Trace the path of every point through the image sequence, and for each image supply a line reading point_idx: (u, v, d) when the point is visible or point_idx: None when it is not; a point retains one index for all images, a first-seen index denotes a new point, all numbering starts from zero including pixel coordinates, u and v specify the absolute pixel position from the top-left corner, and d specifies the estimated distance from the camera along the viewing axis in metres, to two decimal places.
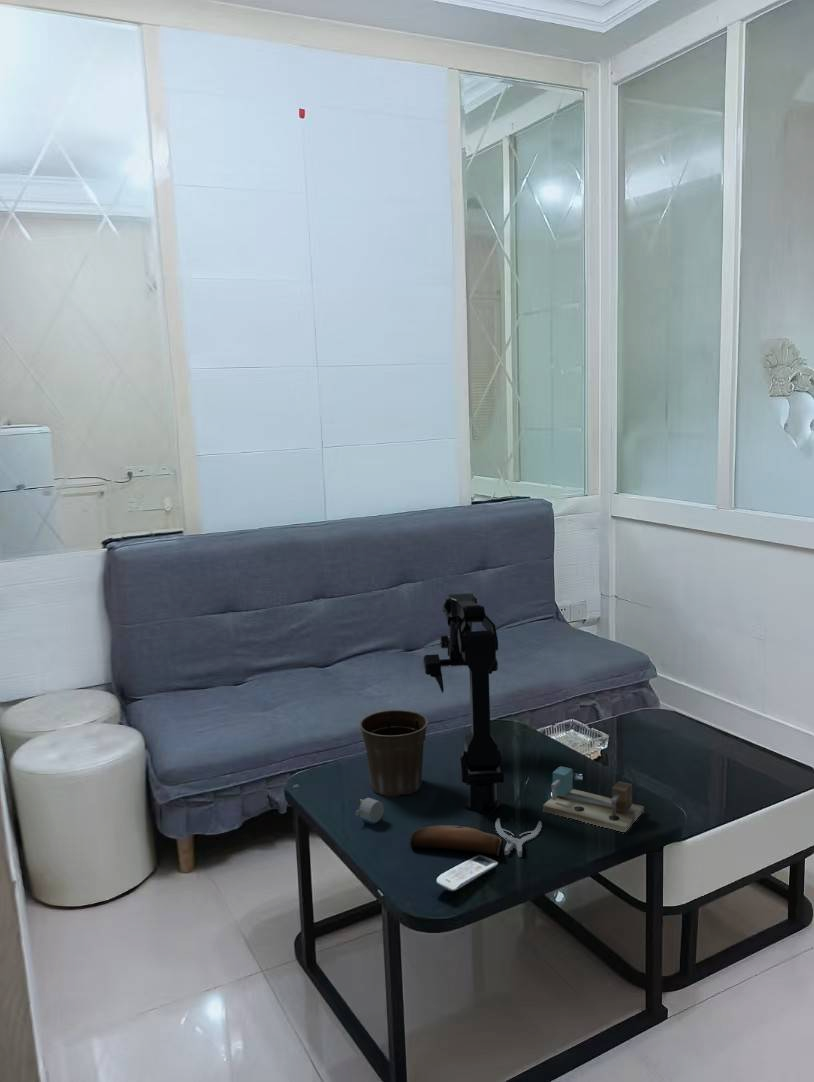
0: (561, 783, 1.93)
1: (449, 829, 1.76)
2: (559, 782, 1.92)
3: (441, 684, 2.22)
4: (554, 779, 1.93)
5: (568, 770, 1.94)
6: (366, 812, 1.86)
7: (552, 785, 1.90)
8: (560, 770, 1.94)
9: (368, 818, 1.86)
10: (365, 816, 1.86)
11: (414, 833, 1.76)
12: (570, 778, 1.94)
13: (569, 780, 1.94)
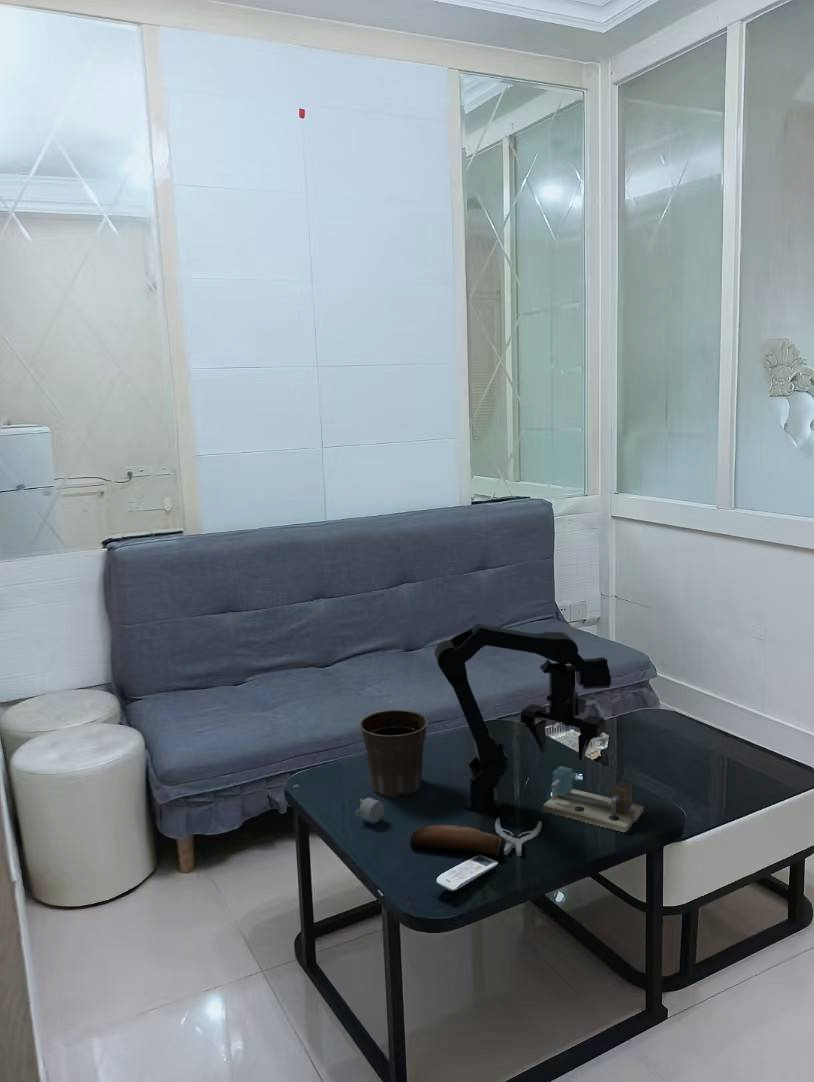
0: (561, 783, 1.93)
1: (449, 829, 1.76)
2: (559, 782, 1.92)
3: (538, 740, 1.95)
4: (554, 779, 1.93)
5: (568, 770, 1.94)
6: (366, 812, 1.86)
7: (552, 785, 1.90)
8: (560, 770, 1.94)
9: (368, 818, 1.86)
10: (365, 816, 1.86)
11: (414, 832, 1.76)
12: (570, 778, 1.94)
13: (569, 780, 1.94)
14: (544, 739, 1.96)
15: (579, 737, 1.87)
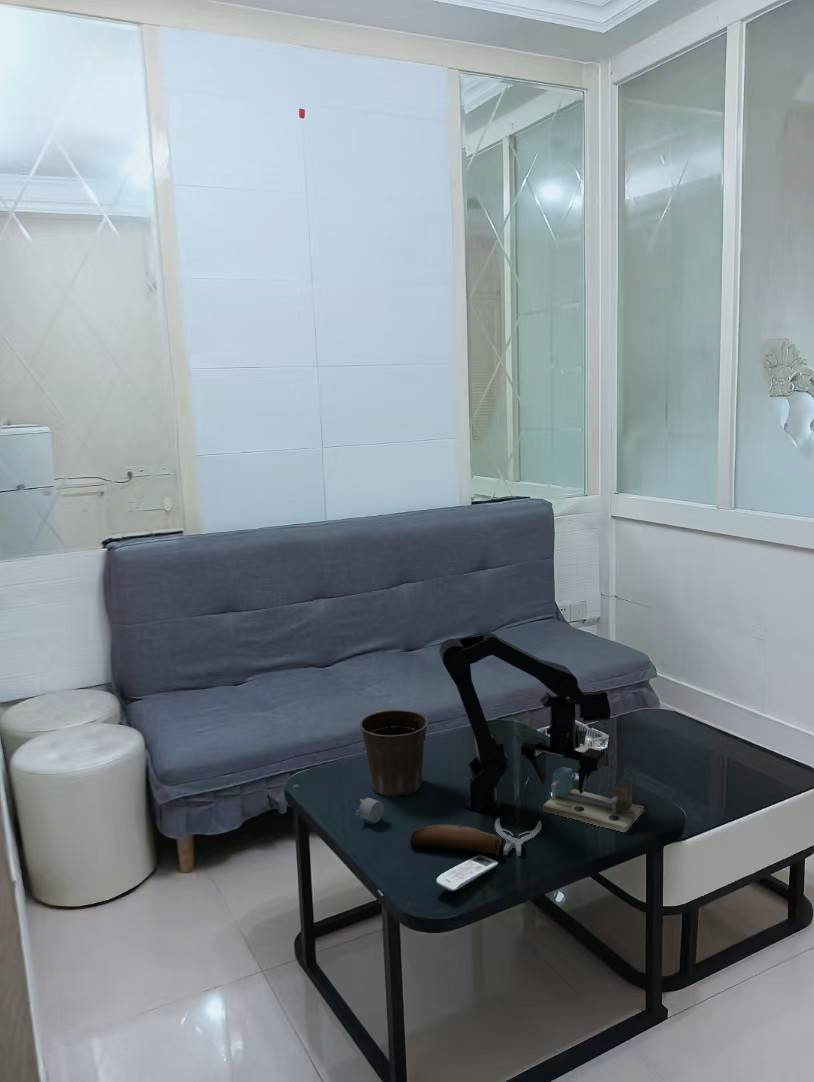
0: (561, 783, 1.93)
1: (449, 828, 1.76)
2: (559, 782, 1.92)
3: (538, 772, 1.96)
4: (554, 779, 1.93)
5: (568, 770, 1.94)
6: (366, 812, 1.86)
7: (552, 785, 1.90)
8: (560, 770, 1.94)
9: (368, 818, 1.86)
10: (365, 816, 1.86)
11: (414, 832, 1.76)
12: (570, 778, 1.94)
13: (569, 780, 1.94)
14: (544, 771, 1.97)
15: (579, 770, 1.88)
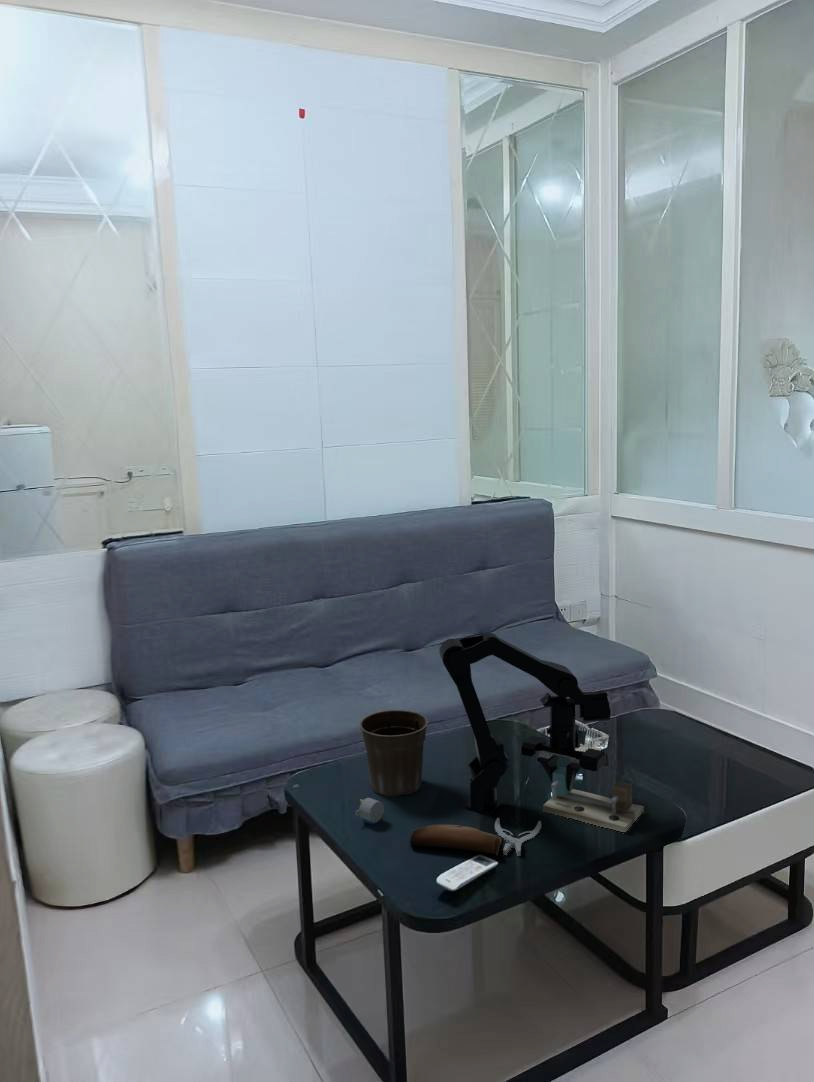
0: (561, 783, 1.93)
1: (449, 828, 1.76)
2: (559, 782, 1.92)
3: (550, 775, 1.94)
4: (554, 779, 1.93)
5: None
6: (366, 812, 1.86)
7: (552, 785, 1.90)
8: (560, 770, 1.94)
9: (368, 818, 1.86)
10: (365, 816, 1.86)
11: (414, 832, 1.76)
12: None
13: None
14: None
15: (567, 767, 1.90)
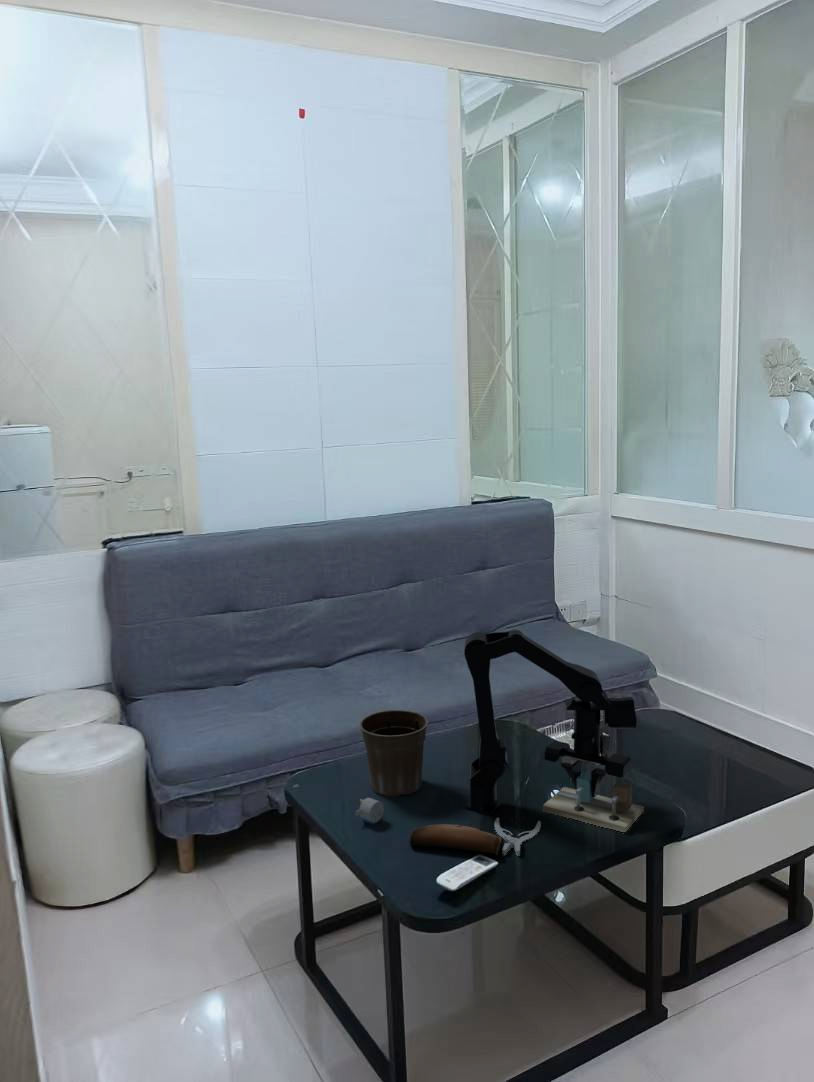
0: (585, 789, 1.89)
1: (449, 828, 1.76)
2: (583, 788, 1.89)
3: (574, 780, 1.91)
4: (578, 785, 1.90)
5: None
6: (366, 812, 1.86)
7: (576, 791, 1.87)
8: (584, 776, 1.91)
9: (368, 818, 1.86)
10: (365, 816, 1.86)
11: (414, 831, 1.77)
12: None
13: None
14: None
15: (592, 773, 1.87)
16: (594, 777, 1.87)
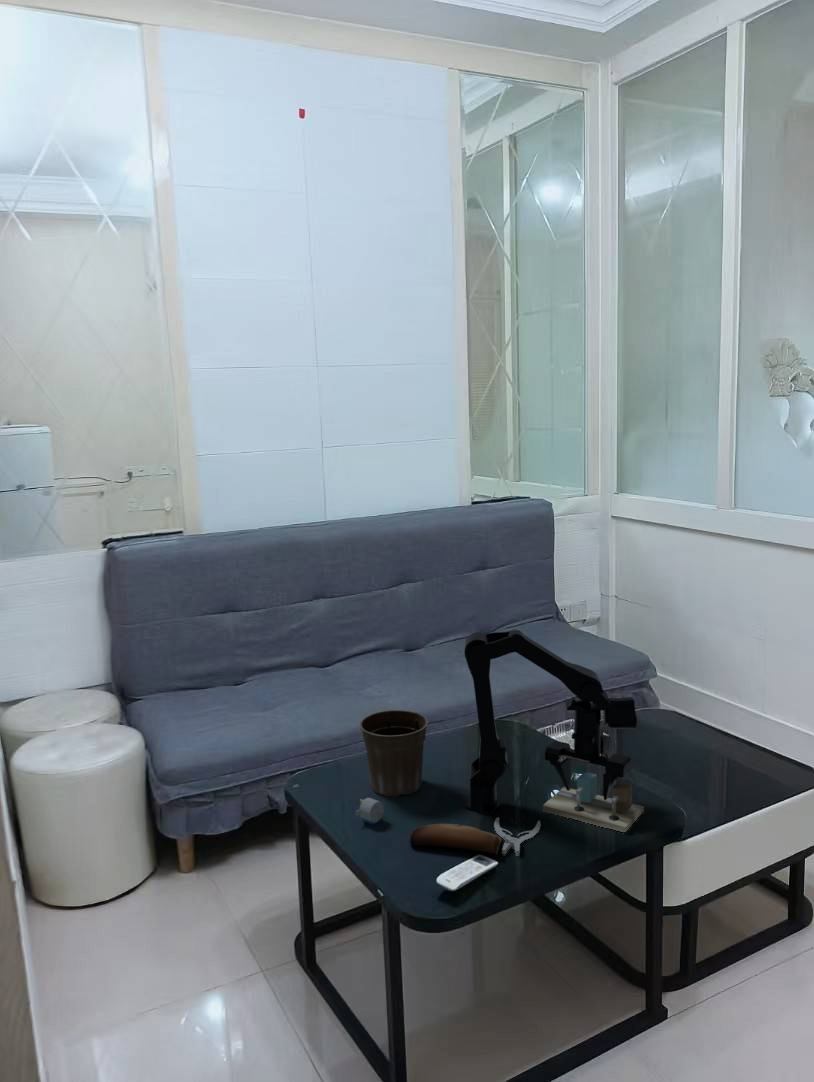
0: (586, 789, 1.89)
1: (449, 827, 1.76)
2: (584, 788, 1.89)
3: (563, 778, 1.92)
4: (578, 785, 1.90)
5: (593, 776, 1.91)
6: (366, 812, 1.86)
7: (577, 791, 1.87)
8: (584, 776, 1.91)
9: (368, 818, 1.86)
10: (365, 816, 1.86)
11: (414, 831, 1.77)
12: (595, 784, 1.91)
13: (593, 786, 1.90)
14: (569, 777, 1.94)
15: (604, 776, 1.85)
16: (606, 780, 1.85)
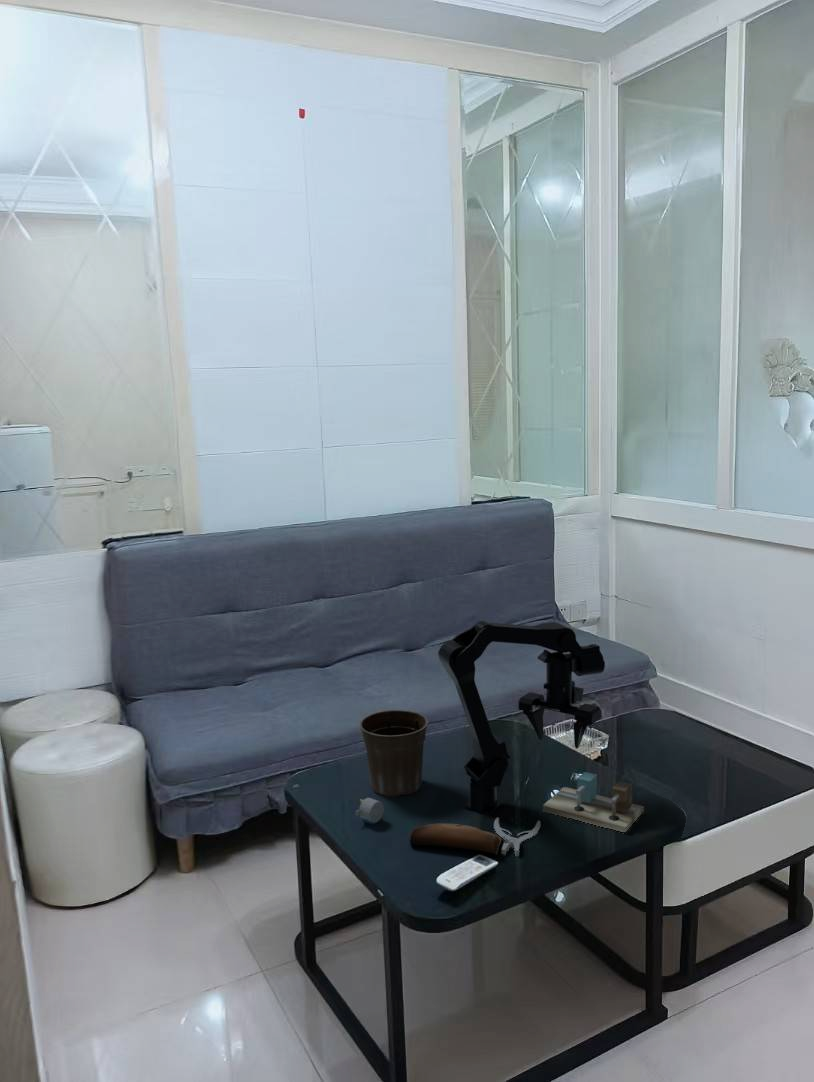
0: (586, 789, 1.89)
1: (449, 827, 1.77)
2: (584, 788, 1.89)
3: (535, 727, 1.99)
4: (578, 785, 1.90)
5: (593, 776, 1.91)
6: (366, 812, 1.86)
7: (577, 791, 1.87)
8: (584, 776, 1.91)
9: (368, 818, 1.86)
10: (365, 816, 1.86)
11: (414, 830, 1.77)
12: (595, 784, 1.91)
13: (593, 786, 1.90)
14: (542, 726, 2.01)
15: (574, 724, 1.92)
16: (577, 728, 1.92)
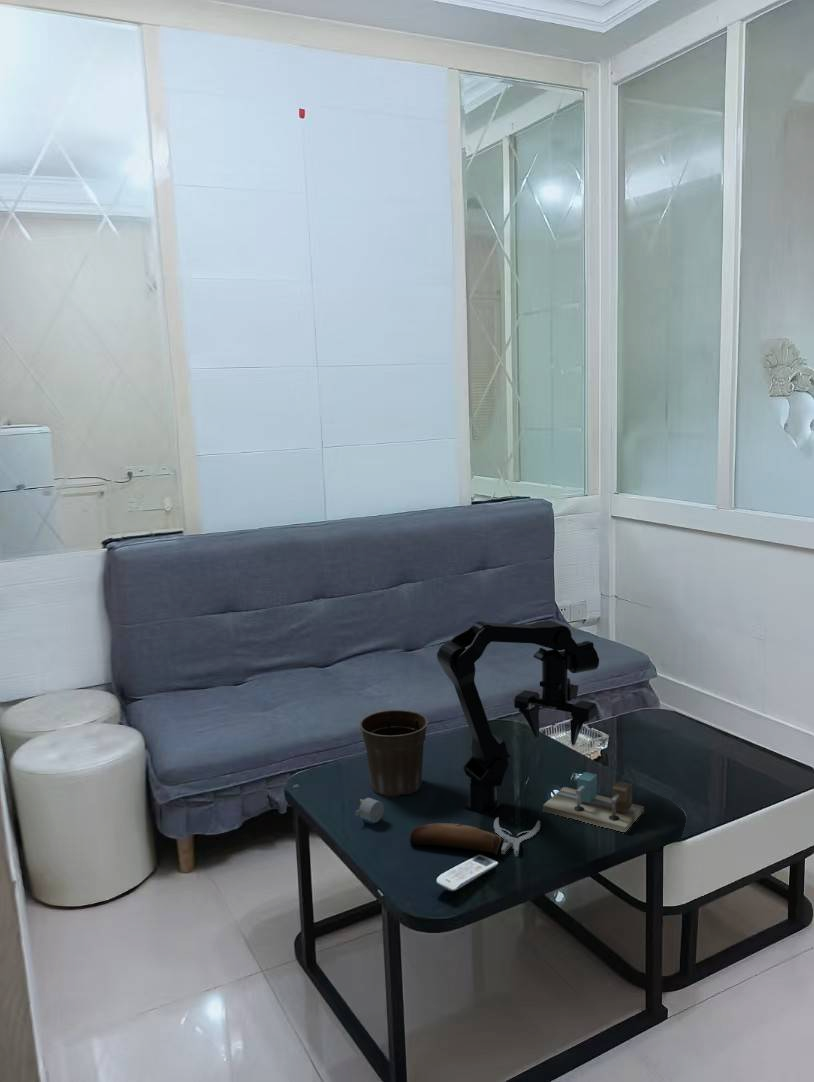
0: (586, 789, 1.89)
1: (448, 827, 1.77)
2: (584, 788, 1.89)
3: (531, 725, 2.00)
4: (578, 785, 1.90)
5: (593, 776, 1.91)
6: (366, 812, 1.86)
7: (577, 791, 1.87)
8: (584, 776, 1.91)
9: (368, 818, 1.86)
10: (365, 816, 1.86)
11: (414, 830, 1.77)
12: (595, 784, 1.91)
13: (593, 786, 1.90)
14: (537, 724, 2.02)
15: (571, 721, 1.93)
16: (573, 725, 1.93)
